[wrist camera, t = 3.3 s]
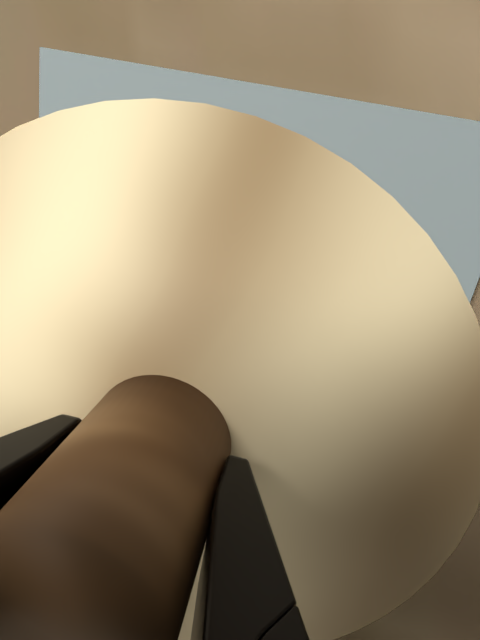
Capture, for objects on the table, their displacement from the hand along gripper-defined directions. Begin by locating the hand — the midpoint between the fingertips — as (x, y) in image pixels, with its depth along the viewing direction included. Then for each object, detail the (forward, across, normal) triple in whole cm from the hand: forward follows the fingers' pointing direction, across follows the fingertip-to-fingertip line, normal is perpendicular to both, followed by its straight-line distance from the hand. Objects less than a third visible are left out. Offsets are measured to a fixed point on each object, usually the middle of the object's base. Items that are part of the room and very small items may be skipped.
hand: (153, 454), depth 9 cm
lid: (+2, 0, 0) cm, 2 cm away
